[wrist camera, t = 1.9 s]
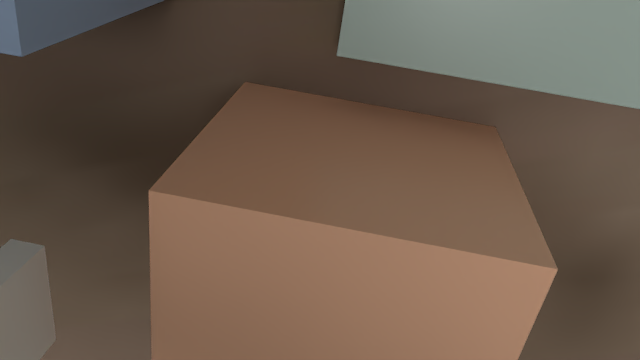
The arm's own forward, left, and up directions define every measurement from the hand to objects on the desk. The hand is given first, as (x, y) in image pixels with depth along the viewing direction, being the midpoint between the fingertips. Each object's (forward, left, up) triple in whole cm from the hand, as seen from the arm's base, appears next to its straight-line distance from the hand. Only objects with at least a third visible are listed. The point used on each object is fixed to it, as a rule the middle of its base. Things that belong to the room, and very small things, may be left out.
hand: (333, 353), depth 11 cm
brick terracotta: (0, 0, -6) cm, 6 cm away
